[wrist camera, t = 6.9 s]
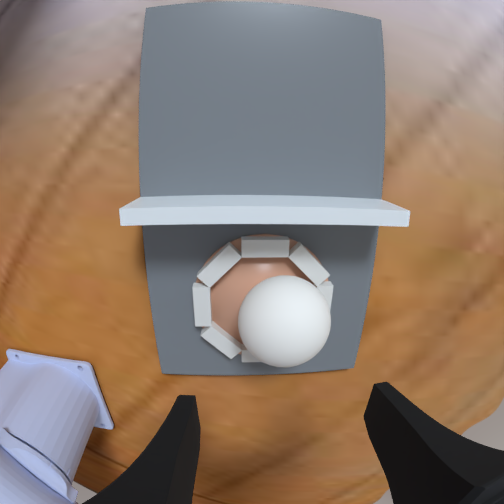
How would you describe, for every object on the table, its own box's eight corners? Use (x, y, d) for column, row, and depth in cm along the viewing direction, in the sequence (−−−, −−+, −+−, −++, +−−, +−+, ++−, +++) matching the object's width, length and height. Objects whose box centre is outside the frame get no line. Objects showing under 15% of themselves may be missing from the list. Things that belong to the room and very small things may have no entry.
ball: (225, 347, 19) (264, 398, 14) (221, 271, 17) (266, 312, 13) (295, 327, 21) (343, 366, 16) (299, 256, 19) (355, 286, 15)
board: (163, 366, 22) (153, 407, 17) (149, 12, 14) (128, -18, 10) (350, 361, 22) (368, 398, 18) (375, 23, 15) (407, 0, 11)
